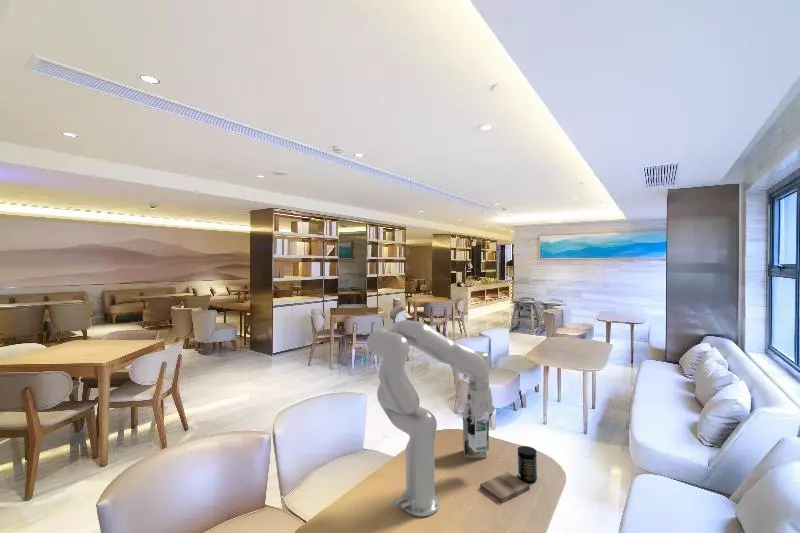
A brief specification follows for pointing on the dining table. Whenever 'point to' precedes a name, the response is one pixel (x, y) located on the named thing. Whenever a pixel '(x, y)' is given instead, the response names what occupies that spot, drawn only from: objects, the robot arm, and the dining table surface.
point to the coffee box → (467, 450)
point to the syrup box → (480, 434)
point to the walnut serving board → (504, 487)
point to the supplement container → (527, 464)
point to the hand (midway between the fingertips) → (478, 431)
